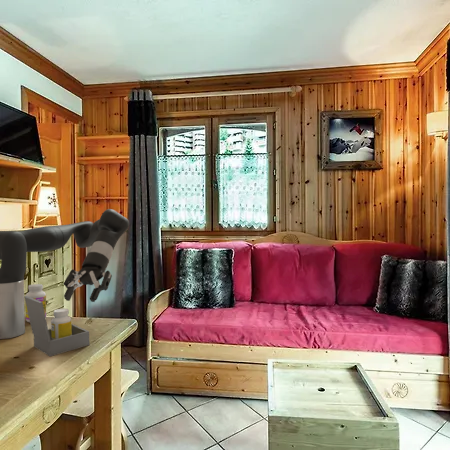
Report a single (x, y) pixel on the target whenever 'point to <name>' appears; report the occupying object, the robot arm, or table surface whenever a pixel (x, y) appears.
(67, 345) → the mailer box
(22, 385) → the table surface
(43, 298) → the supplement bottle
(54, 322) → the supplement bottle
